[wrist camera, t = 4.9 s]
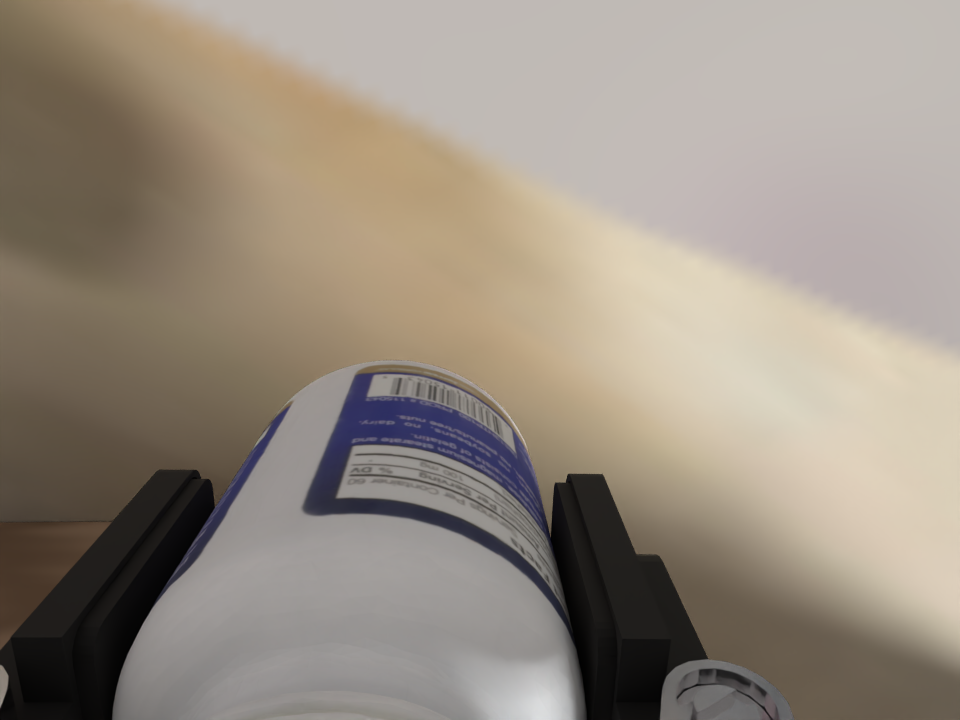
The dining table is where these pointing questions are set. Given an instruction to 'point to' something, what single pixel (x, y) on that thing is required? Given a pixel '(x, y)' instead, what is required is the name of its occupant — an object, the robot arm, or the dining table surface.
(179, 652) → the pill bottle
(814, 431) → the dining table surface
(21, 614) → the brown box with opening
